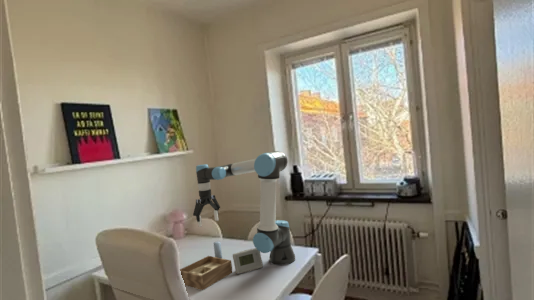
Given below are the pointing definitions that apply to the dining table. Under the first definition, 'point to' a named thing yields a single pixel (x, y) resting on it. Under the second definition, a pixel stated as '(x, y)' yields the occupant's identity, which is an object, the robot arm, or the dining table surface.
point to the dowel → (217, 249)
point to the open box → (206, 272)
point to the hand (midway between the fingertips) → (208, 223)
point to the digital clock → (247, 260)
